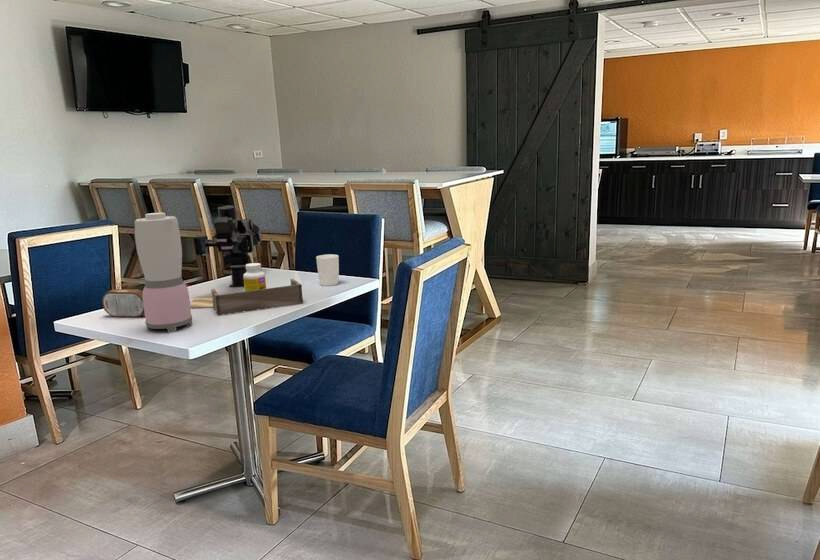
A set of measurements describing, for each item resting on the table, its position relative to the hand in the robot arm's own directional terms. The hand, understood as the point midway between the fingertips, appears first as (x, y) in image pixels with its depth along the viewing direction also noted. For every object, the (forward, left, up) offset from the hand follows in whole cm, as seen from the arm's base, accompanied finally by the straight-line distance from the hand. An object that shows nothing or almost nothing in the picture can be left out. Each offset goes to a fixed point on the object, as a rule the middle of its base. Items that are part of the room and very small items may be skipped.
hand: (217, 251), depth 198 cm
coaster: (0, -4, -17) cm, 17 cm away
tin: (+14, -25, -17) cm, 33 cm away
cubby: (+6, +13, -17) cm, 22 cm away
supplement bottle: (+4, +12, -17) cm, 21 cm away
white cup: (-22, +31, -17) cm, 42 cm away
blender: (+26, -8, -17) cm, 32 cm away
